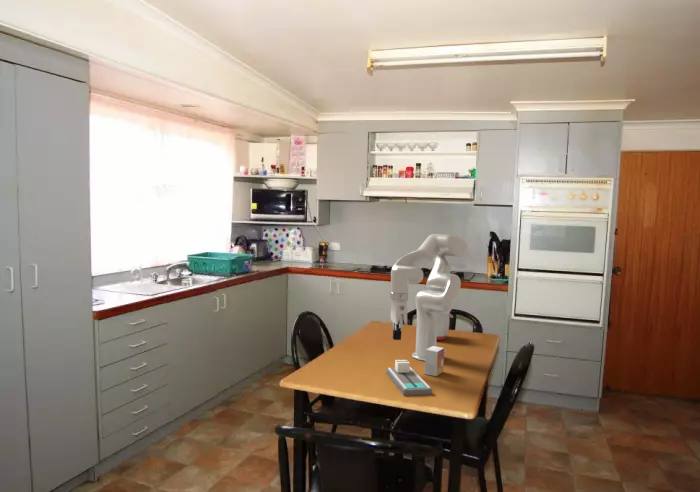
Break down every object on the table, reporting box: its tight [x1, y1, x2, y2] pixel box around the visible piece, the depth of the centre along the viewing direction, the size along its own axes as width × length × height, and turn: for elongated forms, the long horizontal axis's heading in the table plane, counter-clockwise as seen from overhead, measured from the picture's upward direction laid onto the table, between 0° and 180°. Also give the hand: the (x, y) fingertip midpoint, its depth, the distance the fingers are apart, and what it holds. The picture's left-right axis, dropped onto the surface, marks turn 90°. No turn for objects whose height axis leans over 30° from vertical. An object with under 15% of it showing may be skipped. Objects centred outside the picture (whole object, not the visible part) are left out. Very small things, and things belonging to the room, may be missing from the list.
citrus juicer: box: [434, 311, 454, 341], centre depth 265 cm, size 16×17×20 cm
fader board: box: [385, 366, 433, 396], centre depth 193 cm, size 11×25×2 cm, turn 11°
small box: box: [424, 345, 445, 377], centre depth 206 cm, size 8×6×10 cm
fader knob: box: [394, 359, 411, 373], centre depth 201 cm, size 5×4×4 cm
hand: (396, 339), depth 207 cm, fingers closed
